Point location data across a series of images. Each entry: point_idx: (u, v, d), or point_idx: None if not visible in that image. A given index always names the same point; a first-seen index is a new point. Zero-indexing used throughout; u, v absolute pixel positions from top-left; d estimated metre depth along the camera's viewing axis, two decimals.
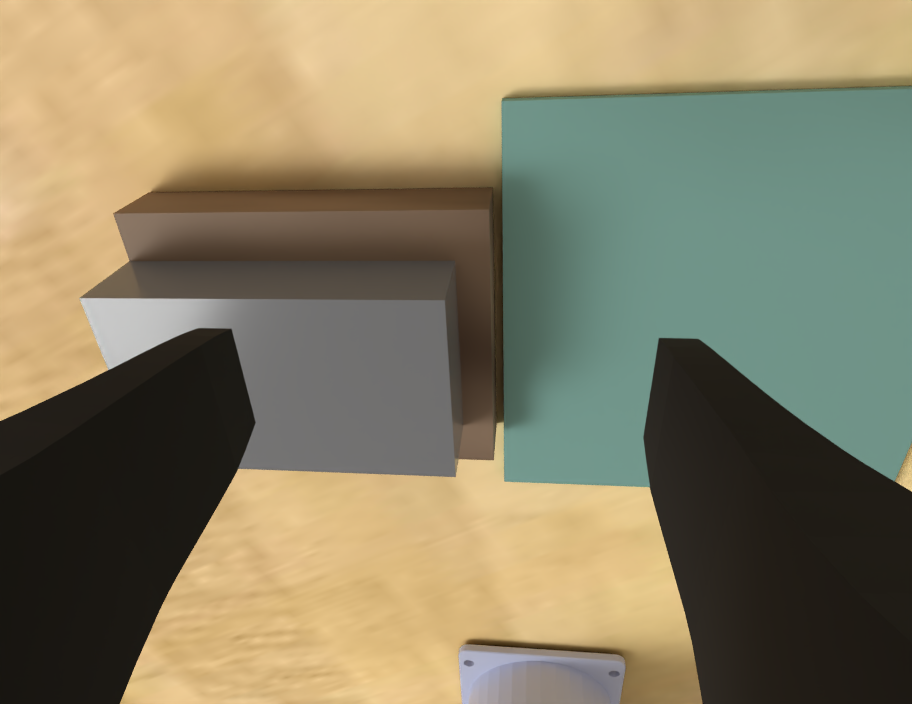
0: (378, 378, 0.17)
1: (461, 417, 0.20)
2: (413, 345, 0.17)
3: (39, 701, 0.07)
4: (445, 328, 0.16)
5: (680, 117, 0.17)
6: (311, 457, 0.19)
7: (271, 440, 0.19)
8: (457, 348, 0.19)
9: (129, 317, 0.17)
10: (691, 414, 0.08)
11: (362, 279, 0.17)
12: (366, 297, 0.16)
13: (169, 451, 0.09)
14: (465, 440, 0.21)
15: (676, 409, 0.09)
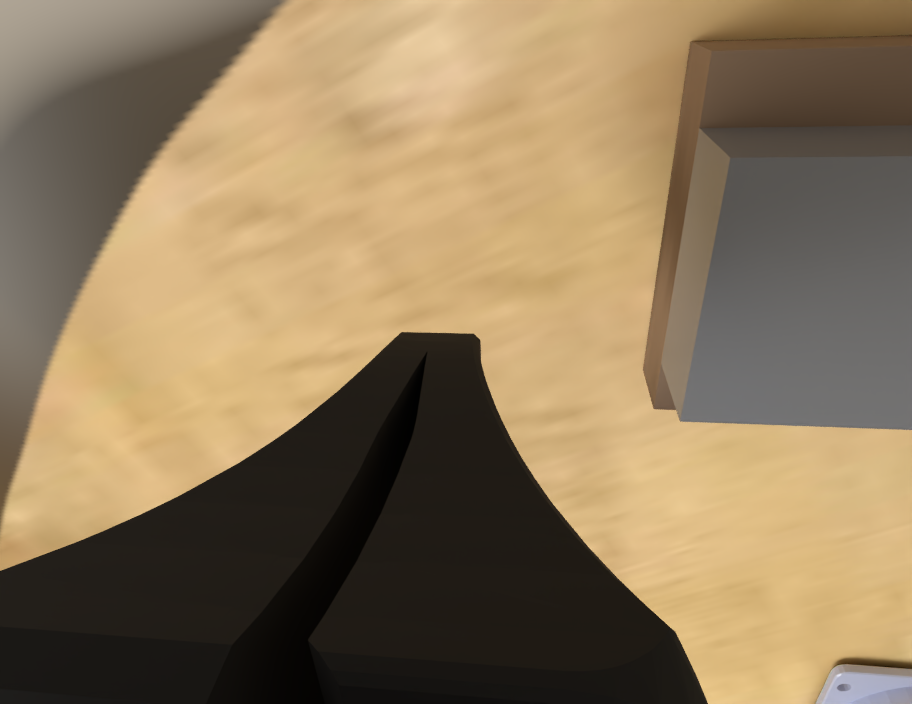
0: None
1: None
2: None
3: None
4: None
5: None
6: None
7: (902, 384, 0.13)
8: None
9: (794, 189, 0.11)
10: None
11: None
12: None
13: None
14: None
15: None
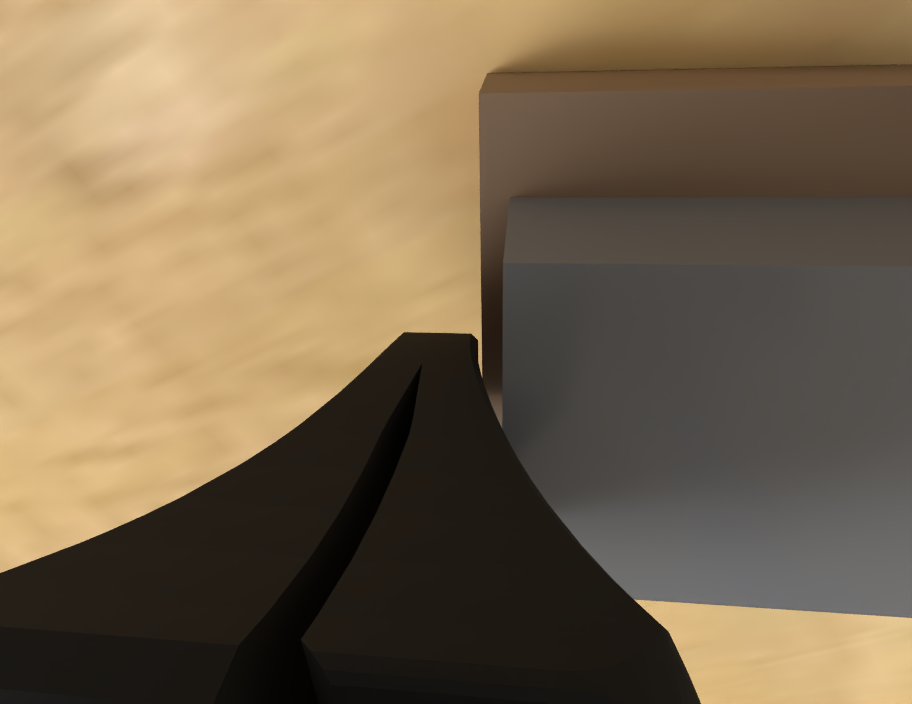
0: None
1: None
2: None
3: None
4: None
5: None
6: (861, 590, 0.10)
7: (793, 558, 0.09)
8: None
9: (604, 308, 0.08)
10: None
11: None
12: None
13: None
14: None
15: None
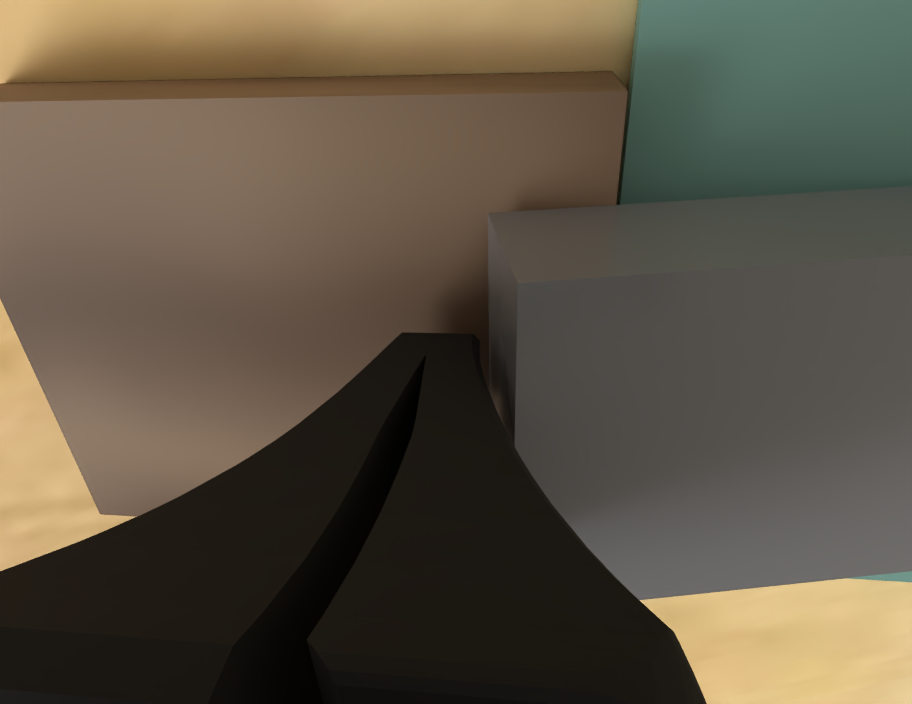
0: None
1: None
2: None
3: None
4: None
5: None
6: (842, 556, 0.10)
7: (785, 537, 0.10)
8: None
9: (618, 319, 0.08)
10: None
11: None
12: None
13: None
14: None
15: None
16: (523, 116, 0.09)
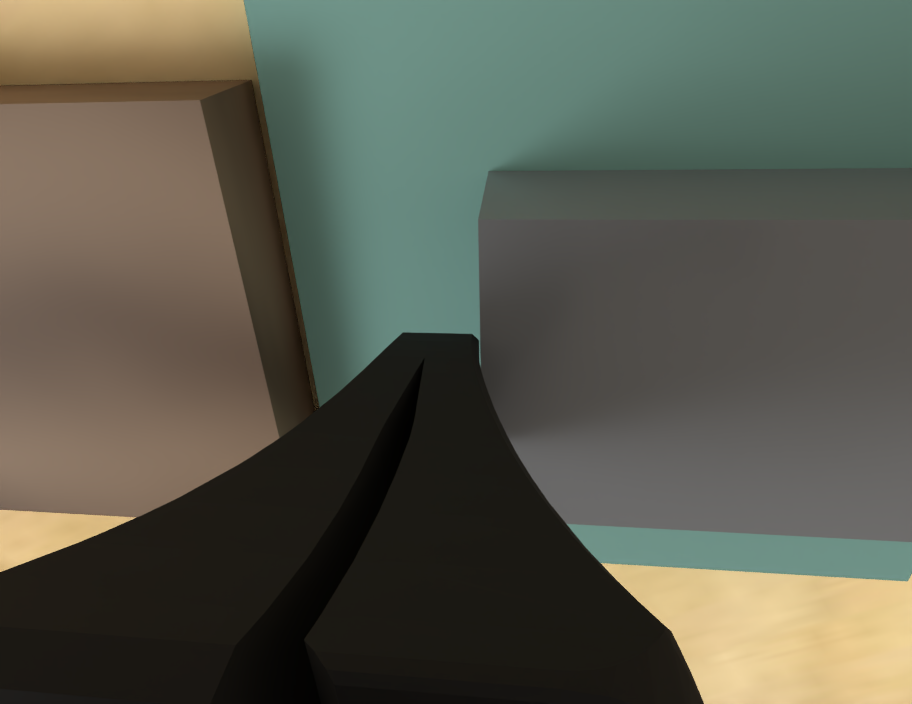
0: None
1: None
2: None
3: None
4: None
5: None
6: (795, 513, 0.11)
7: (735, 484, 0.11)
8: None
9: (564, 258, 0.09)
10: None
11: None
12: None
13: None
14: None
15: None
16: (117, 123, 0.10)
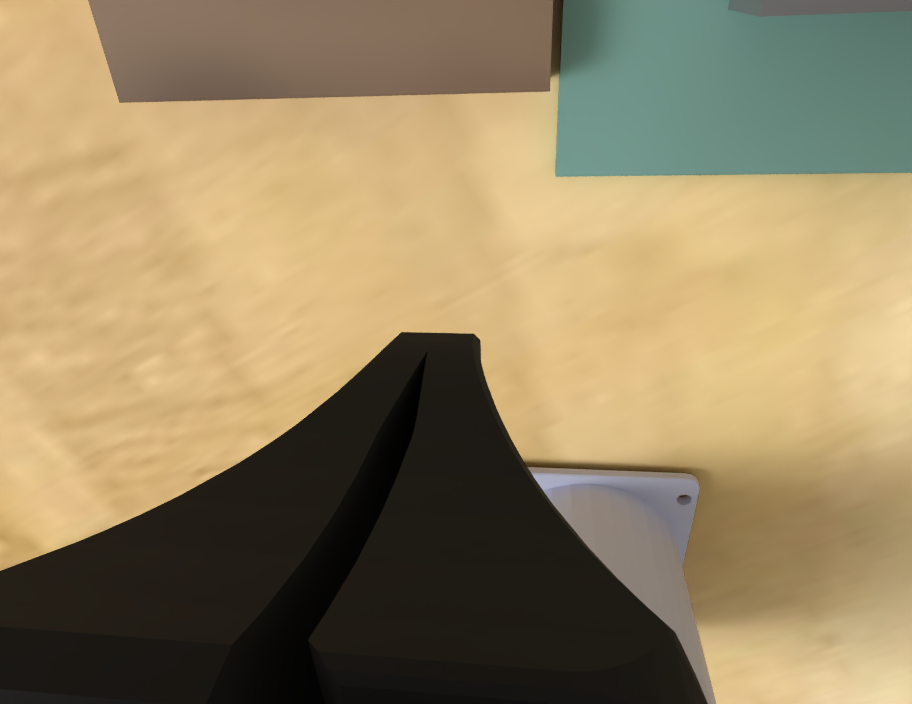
0: None
1: None
2: None
3: None
4: None
5: None
6: None
7: None
8: None
9: None
10: None
11: None
12: None
13: None
14: (509, 53, 0.14)
15: None
16: None
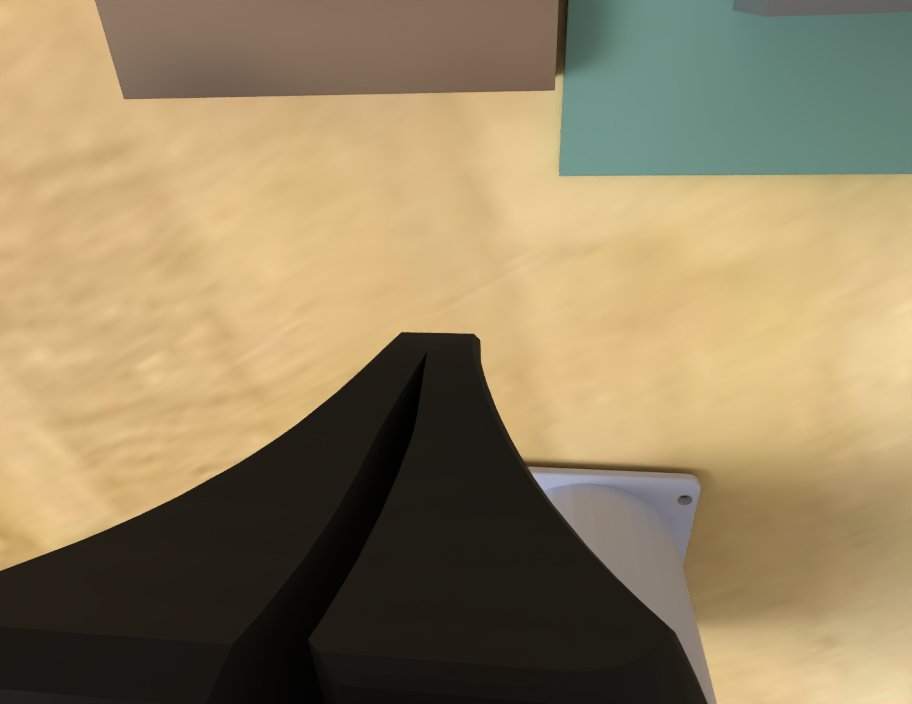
0: None
1: None
2: None
3: None
4: None
5: None
6: None
7: None
8: None
9: None
10: None
11: None
12: None
13: None
14: (515, 52, 0.15)
15: None
16: None
